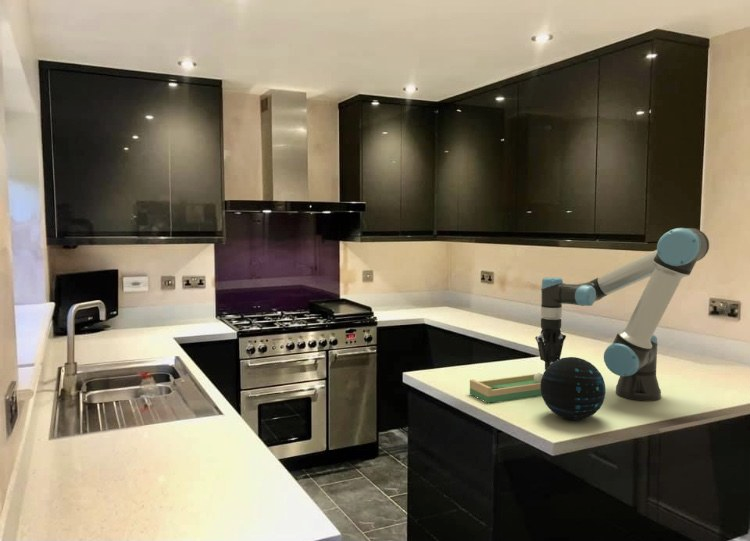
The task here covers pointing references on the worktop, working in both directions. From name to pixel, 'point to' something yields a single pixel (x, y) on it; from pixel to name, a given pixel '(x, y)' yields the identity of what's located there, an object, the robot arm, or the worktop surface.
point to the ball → (538, 377)
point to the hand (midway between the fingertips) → (549, 378)
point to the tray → (505, 388)
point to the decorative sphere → (573, 388)
